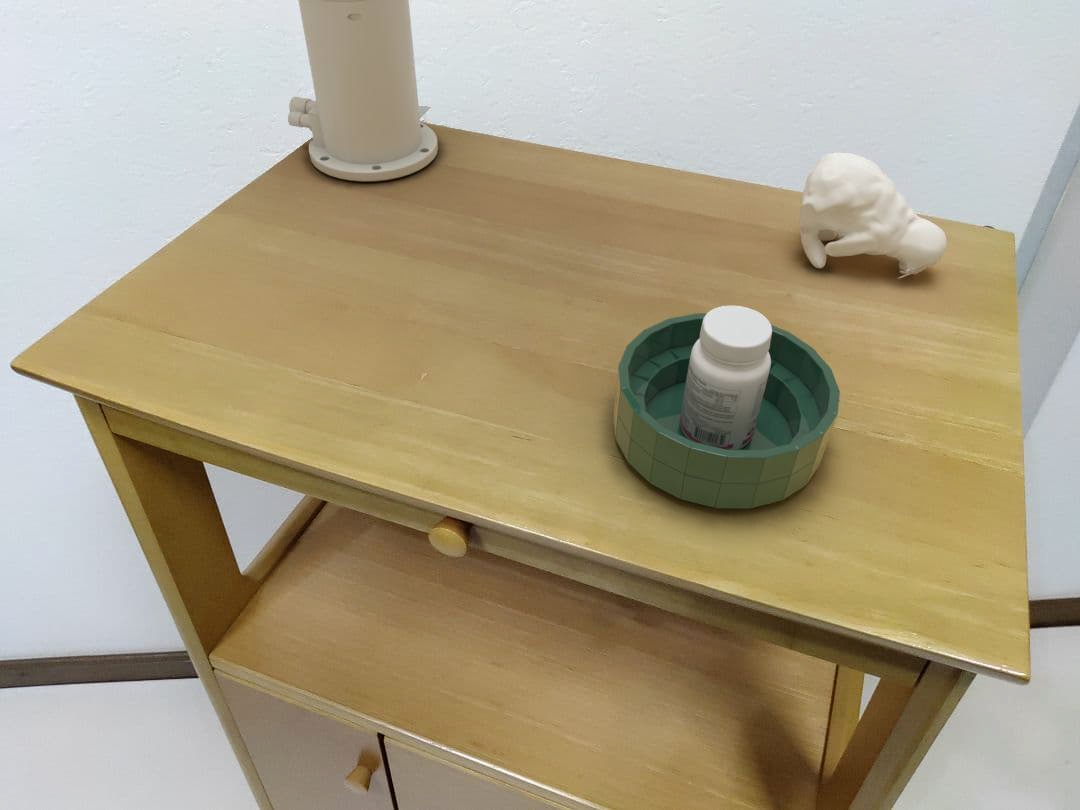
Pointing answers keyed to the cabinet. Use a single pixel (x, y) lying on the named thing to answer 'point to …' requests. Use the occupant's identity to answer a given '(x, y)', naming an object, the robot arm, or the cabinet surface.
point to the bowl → (710, 472)
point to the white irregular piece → (863, 216)
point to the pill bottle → (727, 378)
